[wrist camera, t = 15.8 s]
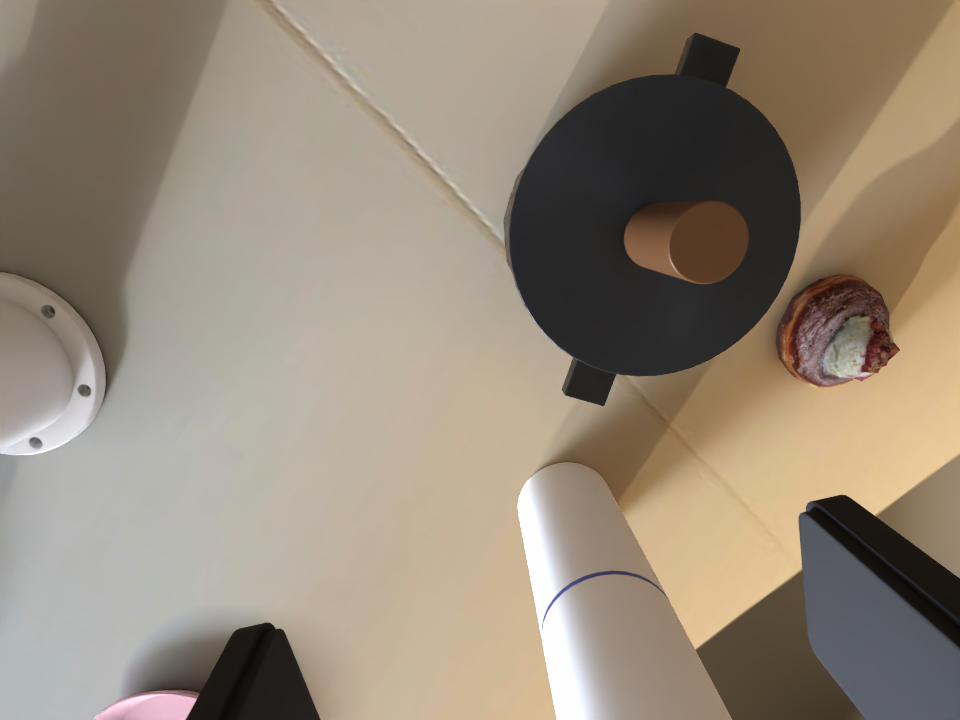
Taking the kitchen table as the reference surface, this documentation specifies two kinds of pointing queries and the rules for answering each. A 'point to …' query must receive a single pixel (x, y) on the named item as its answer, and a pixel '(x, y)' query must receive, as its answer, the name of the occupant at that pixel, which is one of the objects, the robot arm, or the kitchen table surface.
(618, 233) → the lid
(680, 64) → the pot
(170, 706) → the plate
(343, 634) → the kitchen table surface
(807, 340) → the pastry
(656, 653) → the cylindrical container
